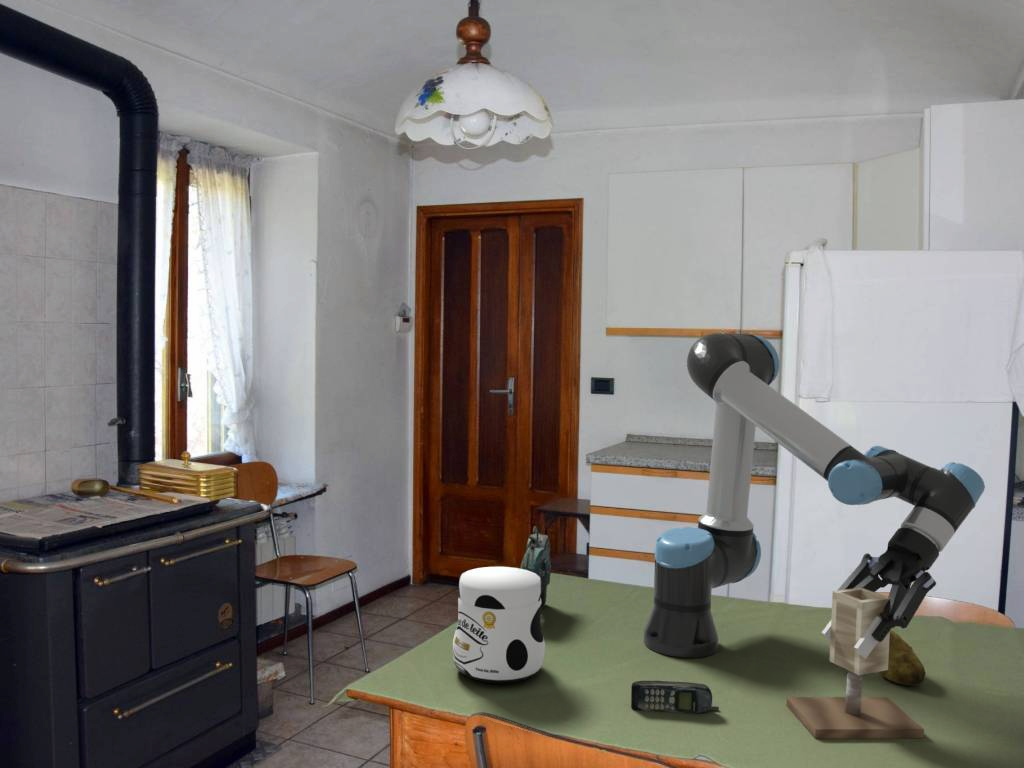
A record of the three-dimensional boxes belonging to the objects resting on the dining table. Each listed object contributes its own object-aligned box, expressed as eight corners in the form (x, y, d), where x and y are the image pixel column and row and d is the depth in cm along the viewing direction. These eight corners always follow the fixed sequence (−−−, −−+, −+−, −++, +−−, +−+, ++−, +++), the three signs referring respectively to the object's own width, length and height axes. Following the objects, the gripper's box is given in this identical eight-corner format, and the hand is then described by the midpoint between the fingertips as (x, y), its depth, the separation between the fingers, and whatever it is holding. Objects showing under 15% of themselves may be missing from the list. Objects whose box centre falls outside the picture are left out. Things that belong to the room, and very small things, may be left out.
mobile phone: (631, 685, 144) (721, 687, 143) (630, 677, 147) (718, 680, 146) (631, 713, 145) (720, 716, 144) (630, 705, 148) (717, 708, 147)
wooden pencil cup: (858, 675, 138) (862, 602, 137) (829, 661, 144) (832, 591, 143) (888, 669, 140) (891, 598, 140) (858, 656, 146) (861, 587, 145)
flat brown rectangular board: (815, 738, 136) (817, 685, 136) (786, 705, 148) (788, 656, 148) (923, 738, 137) (926, 685, 137) (886, 705, 149) (889, 657, 149)
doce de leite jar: (436, 681, 155) (438, 584, 154) (473, 649, 171) (475, 560, 170) (526, 697, 149) (529, 596, 148) (555, 662, 165) (558, 571, 164)
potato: (882, 689, 156) (885, 646, 156) (858, 662, 169) (860, 623, 169) (929, 691, 156) (931, 648, 155) (900, 664, 169) (902, 624, 168)
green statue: (527, 600, 203) (530, 517, 201) (554, 603, 201) (557, 519, 200) (511, 628, 183) (513, 537, 182) (540, 631, 182) (543, 539, 181)
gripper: (980, 568, 138) (902, 681, 133) (885, 541, 156) (812, 639, 150) (959, 539, 136) (878, 652, 130) (864, 514, 153) (790, 613, 148)
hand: (843, 645), depth 140 cm, fingers closed on wooden pencil cup, 6 cm apart
